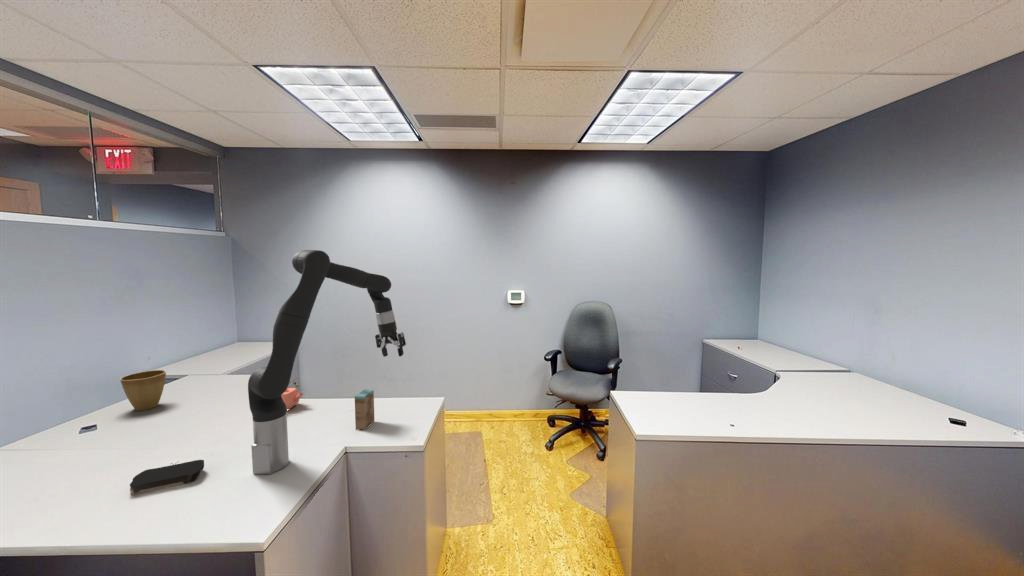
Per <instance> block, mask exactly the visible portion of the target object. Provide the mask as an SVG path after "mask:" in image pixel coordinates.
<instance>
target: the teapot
mask: <svg viewBox="0 0 1024 576" xmlns="http://www.w3.org/2000/svg"><path fill="white" fill-rule="evenodd" d="M303 395H304V394H303V392H299V391H298V389H297V388H296V387H290V388H289V387H287V389H286V391H285V392H284V393H283V394H282V395H281V396H282V399H283V401H284V403H285V404H286V410H287V409H290V410H291V409H292V408H294V407H293V406H295V405H296V406H297V405H298V404H299V402H300V398H301V397H303Z"/></svg>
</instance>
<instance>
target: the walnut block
mask: <svg viewBox="0 0 1024 576" xmlns="http://www.w3.org/2000/svg"><path fill="white" fill-rule="evenodd" d="M374 391H375V389H363V390H362V391H360V392H359V393H358V394H356V395H354V416H355V417H354V418H355V422H354V423H355V430H356V429H363V430H362V431H366V430H367V429H368V428H369V427H370V426H371V425H373V423H375V422H374V421H375V393H374ZM370 424H371V425H370ZM369 425H370V426H369ZM368 426H369V427H368ZM367 427H368V428H367ZM366 428H367V429H366ZM365 429H366V430H365Z"/></svg>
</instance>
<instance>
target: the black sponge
mask: <svg viewBox="0 0 1024 576" xmlns="http://www.w3.org/2000/svg"><path fill="white" fill-rule="evenodd" d="M204 468H205V460H204V459H197V460H191V461H186V462H182V463H175V464H172V465H166V466H161V467H157V468H149V469H145V470H143V471H141V472H140V473H137V474H136V475H135V476H133V478H132V481H131V482H130V483H129V486H130V489H129V491H130V495H138V494H141V493H147V492H152V491H157V490H162V489H166V488H171V487H176V486H181V485H187V484H191V483H194V482H195V481H196V480H198V477H199V476H200V474H201V472H202V471H203V470H204Z"/></svg>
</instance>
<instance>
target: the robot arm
mask: <svg viewBox="0 0 1024 576" xmlns="http://www.w3.org/2000/svg"><path fill="white" fill-rule="evenodd" d="M291 264H292V267H293V268H294V270H295V271H296V272H297V273H299V274H300V275H301V277H300V280H299V283H298V284H297V286H296V288H295V289H294V291H293V292H292V293H291V294H290V296H288V297H287V298H286V300H285V301H284V302H283V304H282V305H281V307H280V308H279V311H278V313H277V316H276V319H275V322H274V324H273V327H272V328H273V329H272V348H271V349H272V350H271V355H270V357H269V361H268V363H267V366H263V367H260V368H257V369H255V370H254V371H253V372H252V373H251V375H250V376H249V379H248V383H247V394H248V403H249V411H250V412H251V416H252V429H253V432H252V433H253V444H251V459H252V460H251V463H252V464H251V465H252V474H255V475H256V474H257V475H272V474H273V473H275V472H278V471H281V470H282V469H283V468H286V467H287V465H289V462H290V458H289V436H288V433H289V432H288V416H287V415H288V413H287V412H288V411H287V410H286V404H285V403H284V401H283V399H282V396H281V395H282V394H283V393H284V392H285V391H286V389H287V388H289V384H290V381H291V378H292V373H293V369H294V363H295V361H296V356H297V354H298V350H299V349H300V348H299V347H300V345H301V342H302V339H303V336H304V334H305V331H306V329H307V327H308V324H309V320H310V318H311V314H312V311H313V308H314V305H315V302H316V300H317V296H318V295H319V292H320V289H321V288H322V285H323V283H324V281H325V279H326V278H327V279H331V280H333V281H337V282H341V283H343V284H347V285H350V286H353V287H356V288H360V289H366V290H367V293H368V296H369V297H370V299H371V302H373V305H374V306H373V307H374V311H375V317H376V322H377V324H376V325H377V328H378V334H375V336H374V337H375V343H376V344H375V345H376V348H377V349H380V350H381V354H382V356H383V357H384V358H385V357H388V355H389V353H388V349H387V346H388V344H392V345H394V346H395V347H396V349H397V353H398V357H402V356H403V355H404V354H405V353H404V349H403V347H405V346H406V345H407V342H406V338H405V335H404V332H400V333H398V332H397V331H398V327H397V322H396V319H395V318H396V317H395V314H394V310H393V307H392V301H391V298H390V297H387V296H384V294H385V293H387V292H389V291H390V290H391V288H392V282H391V280H390V279H389V278H388V277H386V276H385V275H380V274H377V273H369V272H367V271H364V270H361V269H359V268H357V267H356V268H355V267H352V266H347V265H343V264H339V263H335V262H331V259H330V256H329V255H328V253H326V252H325V251H323V250H318V249H317V250H316V249H305V250H300V251H298V252H296V253H295V254H294V256H293V257H292V260H291Z"/></svg>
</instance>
